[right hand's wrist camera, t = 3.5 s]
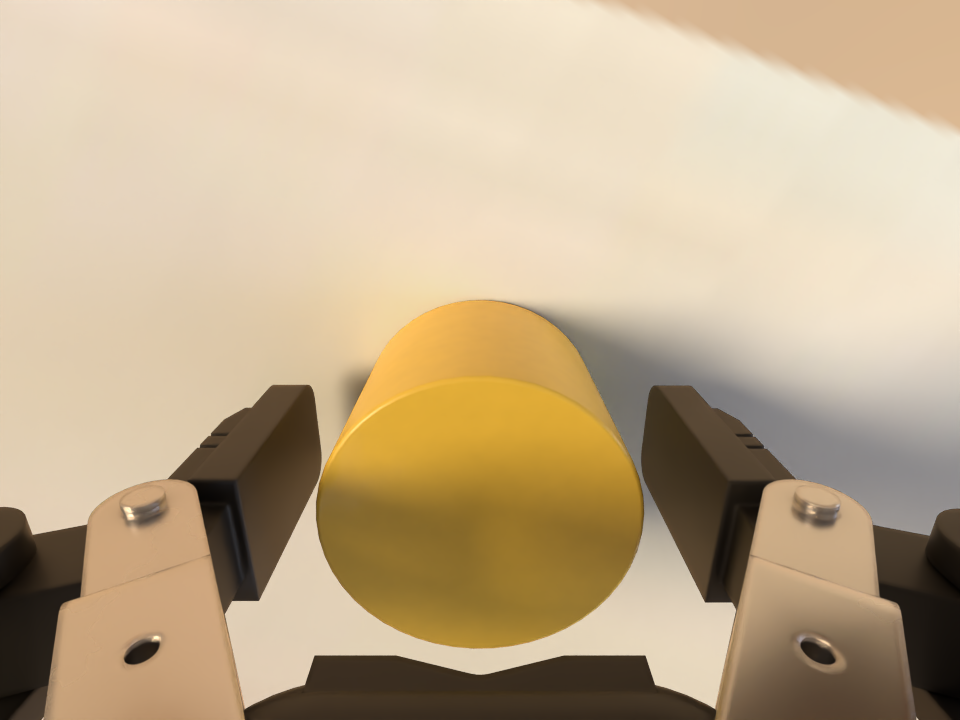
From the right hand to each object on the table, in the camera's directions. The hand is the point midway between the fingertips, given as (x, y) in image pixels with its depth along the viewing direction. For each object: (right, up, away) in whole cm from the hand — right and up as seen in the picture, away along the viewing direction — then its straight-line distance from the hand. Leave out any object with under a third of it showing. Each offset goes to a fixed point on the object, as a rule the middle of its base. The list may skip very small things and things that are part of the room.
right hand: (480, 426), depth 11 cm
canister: (0, 0, +1) cm, 1 cm away
